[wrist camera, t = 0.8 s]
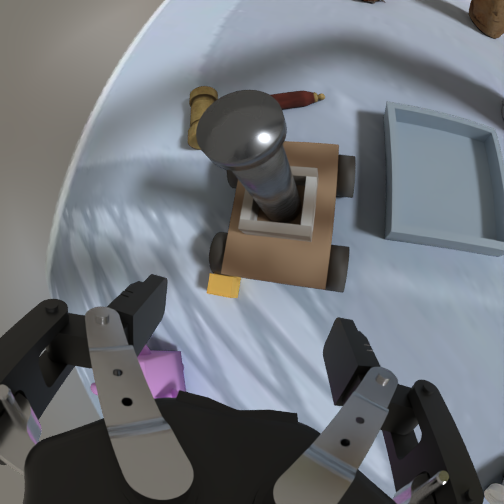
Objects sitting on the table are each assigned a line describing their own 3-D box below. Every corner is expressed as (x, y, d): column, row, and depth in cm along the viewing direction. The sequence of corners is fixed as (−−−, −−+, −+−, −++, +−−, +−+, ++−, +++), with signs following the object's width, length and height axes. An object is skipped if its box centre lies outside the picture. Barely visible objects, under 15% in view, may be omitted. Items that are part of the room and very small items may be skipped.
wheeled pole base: (243, 160, 37) (223, 130, 30) (353, 167, 33) (357, 134, 25) (222, 275, 35) (193, 268, 28) (341, 292, 31) (346, 291, 23)
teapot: (229, 396, 32) (191, 428, 22) (174, 441, 33) (132, 471, 23) (156, 314, 37) (103, 316, 27) (114, 368, 38) (64, 379, 27)
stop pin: (262, 181, 30) (207, 93, 15) (309, 185, 28) (287, 88, 14) (254, 227, 29) (186, 162, 15) (303, 232, 28) (276, 162, 13)
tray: (383, 118, 33) (386, 101, 29) (485, 141, 28) (495, 129, 24) (384, 239, 31) (391, 231, 27) (497, 256, 25) (512, 252, 22)
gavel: (317, 65, 34) (333, 112, 32) (317, 84, 38) (331, 130, 36) (185, 90, 37) (182, 138, 36) (195, 106, 42) (194, 152, 40)
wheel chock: (220, 266, 36) (211, 263, 33) (242, 269, 35) (235, 267, 32) (215, 293, 35) (206, 293, 32) (237, 297, 34) (229, 297, 32)
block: (503, 43, 26) (522, -9, 7) (484, 37, 28) (501, -19, 9) (481, 19, 28) (494, -31, 9) (462, 13, 30) (472, -40, 11)
